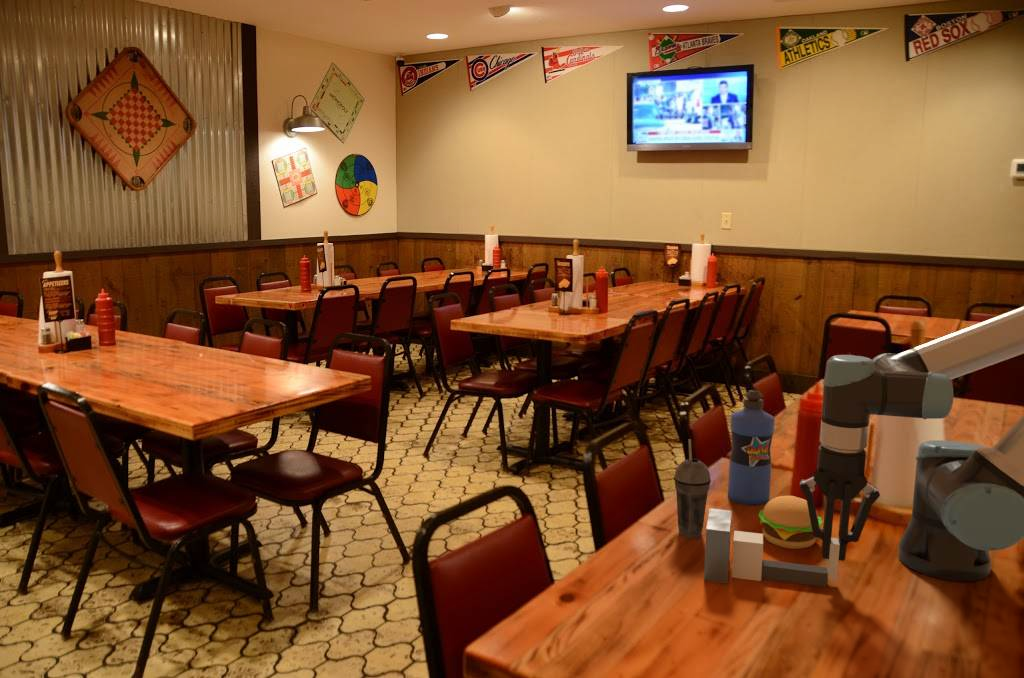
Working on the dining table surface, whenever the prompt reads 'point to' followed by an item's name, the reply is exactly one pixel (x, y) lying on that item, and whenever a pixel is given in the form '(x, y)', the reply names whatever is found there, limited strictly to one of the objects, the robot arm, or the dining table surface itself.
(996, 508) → the robot arm
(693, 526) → the beverage cup
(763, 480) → the water bottle
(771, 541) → the hamburger
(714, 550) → the grey slab
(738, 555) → the beige and grey hammer
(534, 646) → the dining table surface
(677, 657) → the dining table surface
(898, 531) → the dining table surface
